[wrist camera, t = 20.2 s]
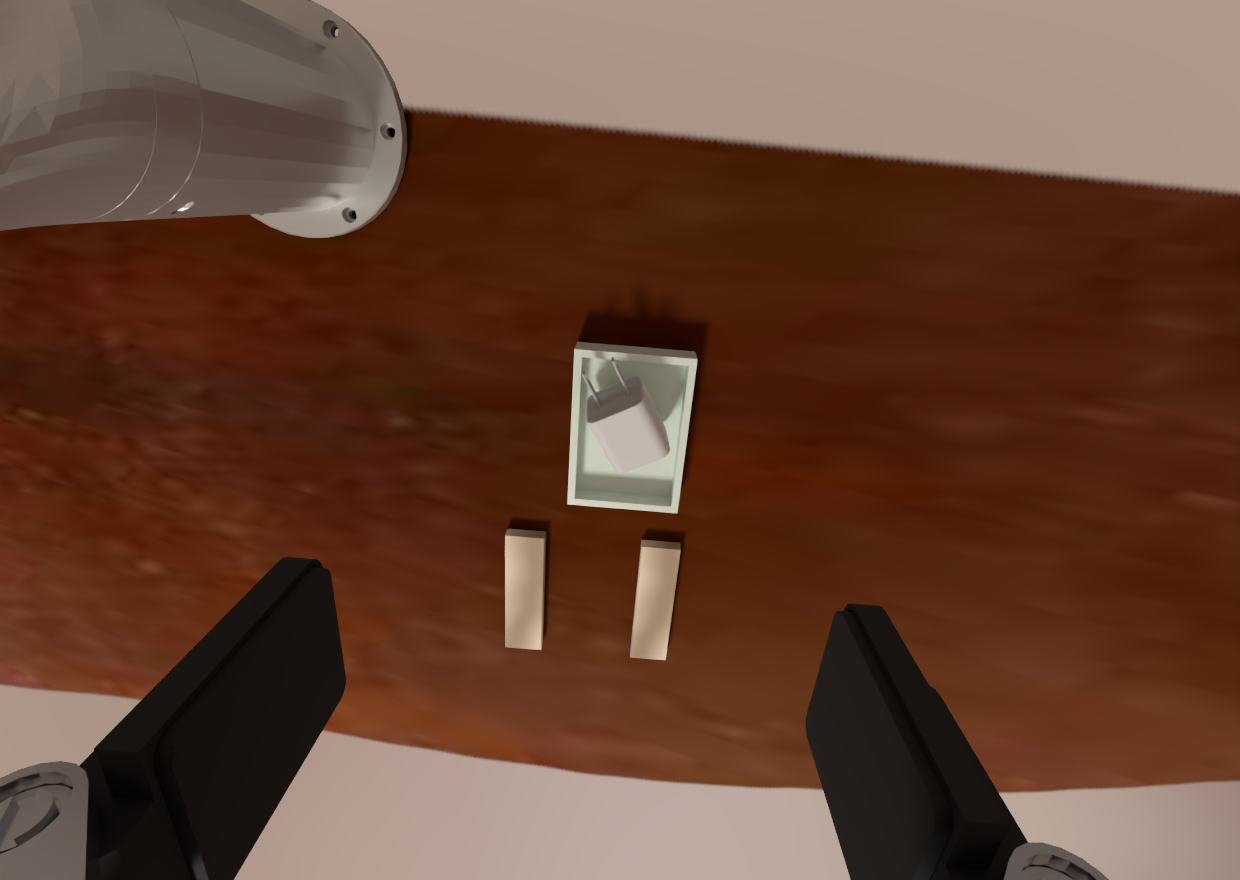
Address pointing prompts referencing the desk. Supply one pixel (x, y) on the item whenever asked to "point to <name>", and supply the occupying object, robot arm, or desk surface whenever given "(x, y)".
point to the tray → (672, 397)
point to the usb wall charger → (626, 423)
